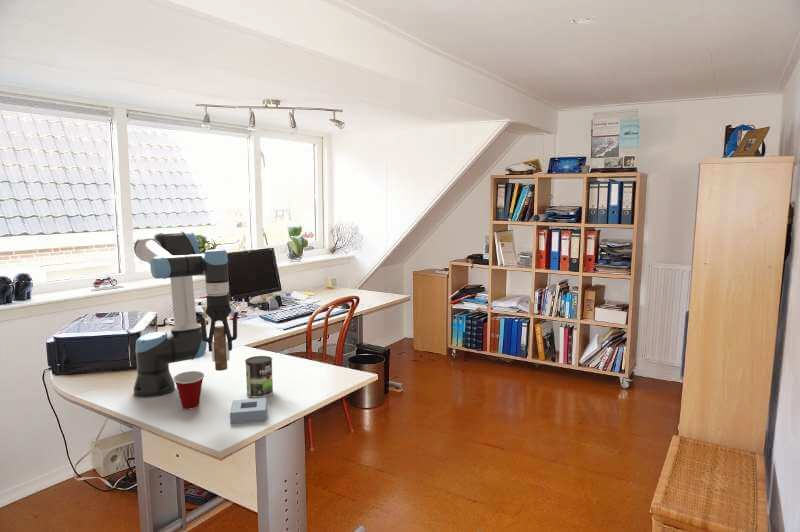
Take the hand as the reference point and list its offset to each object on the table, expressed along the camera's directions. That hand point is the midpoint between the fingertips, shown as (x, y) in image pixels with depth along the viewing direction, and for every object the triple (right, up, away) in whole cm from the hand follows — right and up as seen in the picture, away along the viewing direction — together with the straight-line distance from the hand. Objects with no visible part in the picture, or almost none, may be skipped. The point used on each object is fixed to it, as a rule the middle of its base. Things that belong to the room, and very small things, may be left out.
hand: (221, 359), depth 187 cm
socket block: (+9, -21, +4) cm, 23 cm away
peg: (0, -3, 0) cm, 3 cm away
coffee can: (+7, -18, +26) cm, 33 cm away
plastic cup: (-16, -20, +13) cm, 29 cm away
